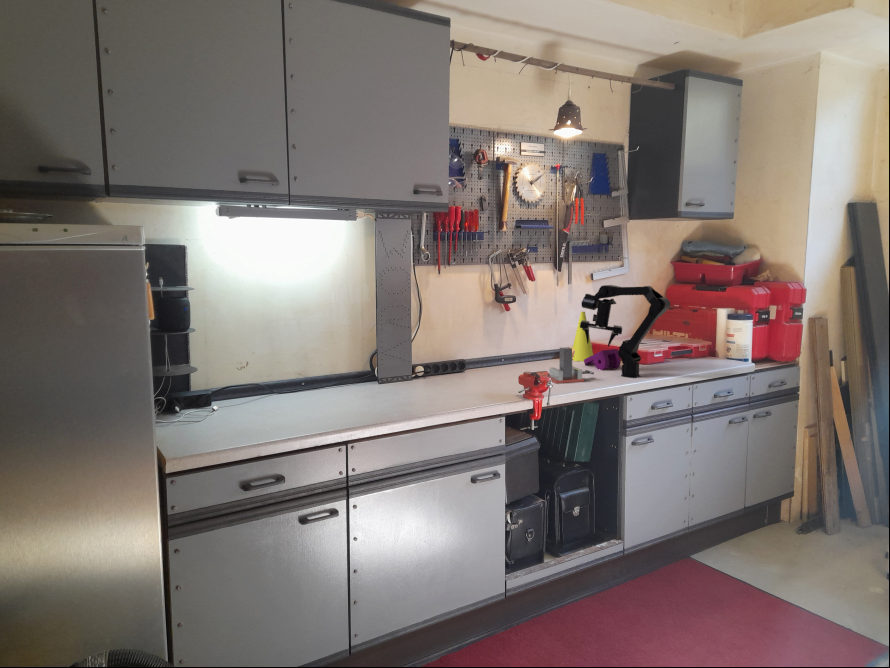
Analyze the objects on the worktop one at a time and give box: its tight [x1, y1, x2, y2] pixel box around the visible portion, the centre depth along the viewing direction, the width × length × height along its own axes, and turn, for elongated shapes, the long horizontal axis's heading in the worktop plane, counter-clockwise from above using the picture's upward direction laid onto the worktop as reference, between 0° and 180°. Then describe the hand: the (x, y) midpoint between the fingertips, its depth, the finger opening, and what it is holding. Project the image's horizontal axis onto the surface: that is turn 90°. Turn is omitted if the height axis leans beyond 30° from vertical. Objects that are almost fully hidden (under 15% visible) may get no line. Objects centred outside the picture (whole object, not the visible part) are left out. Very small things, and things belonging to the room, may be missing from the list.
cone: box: [572, 311, 594, 362], centre depth 305 cm, size 12×12×25 cm
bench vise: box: [549, 365, 595, 384], centre depth 254 cm, size 18×9×5 cm, turn 105°
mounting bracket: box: [583, 348, 622, 371], centre depth 284 cm, size 9×8×18 cm
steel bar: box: [558, 346, 573, 379], centre depth 253 cm, size 4×4×13 cm
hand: (597, 345), depth 271 cm, fingers open, 9 cm apart
